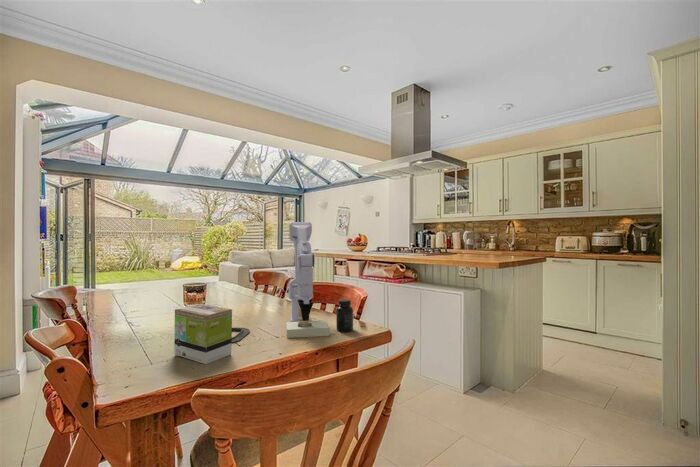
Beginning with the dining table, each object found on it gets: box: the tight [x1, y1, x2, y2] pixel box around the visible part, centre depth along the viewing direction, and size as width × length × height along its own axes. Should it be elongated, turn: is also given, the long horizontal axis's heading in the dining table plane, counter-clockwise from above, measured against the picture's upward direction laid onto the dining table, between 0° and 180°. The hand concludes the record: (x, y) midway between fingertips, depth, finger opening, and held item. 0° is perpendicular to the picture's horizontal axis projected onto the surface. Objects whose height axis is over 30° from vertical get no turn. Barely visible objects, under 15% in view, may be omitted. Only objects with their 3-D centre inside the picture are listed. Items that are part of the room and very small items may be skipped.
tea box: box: [173, 303, 233, 365], centre depth 103 cm, size 15×10×15 cm, turn 62°
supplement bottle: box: [335, 298, 354, 333], centre depth 133 cm, size 7×7×12 cm
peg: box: [298, 306, 310, 327], centre depth 128 cm, size 4×4×8 cm
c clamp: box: [232, 327, 251, 344], centre depth 122 cm, size 20×17×3 cm
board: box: [285, 320, 331, 339], centre depth 129 cm, size 11×16×3 cm
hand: (305, 319), depth 129 cm, fingers closed on peg, 4 cm apart
